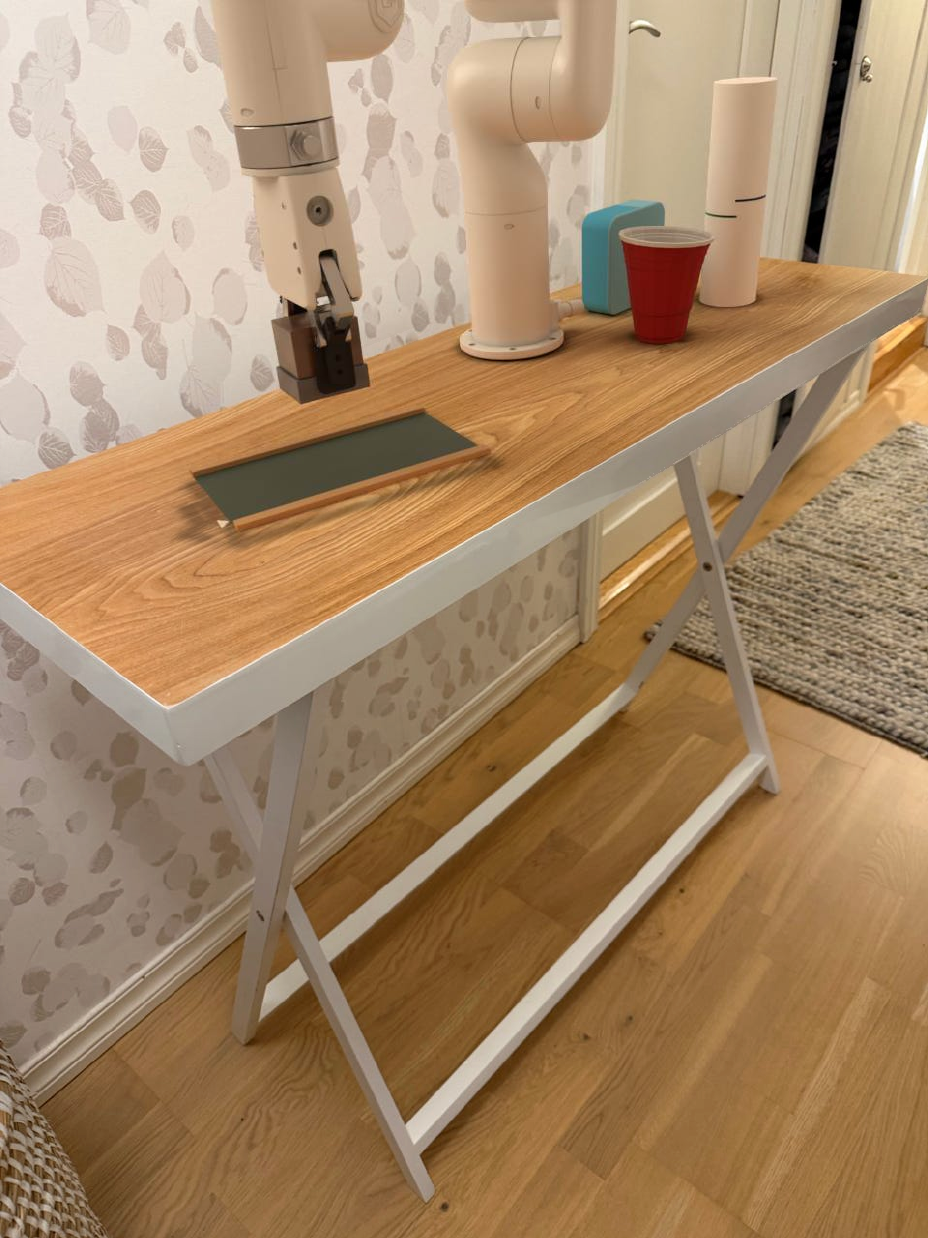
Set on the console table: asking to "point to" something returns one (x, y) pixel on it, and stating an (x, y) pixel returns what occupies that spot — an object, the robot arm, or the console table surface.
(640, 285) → the plastic cup
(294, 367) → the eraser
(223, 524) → the chalk streak
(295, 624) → the console table surface
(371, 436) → the chalkboard
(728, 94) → the cylindrical container
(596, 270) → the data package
